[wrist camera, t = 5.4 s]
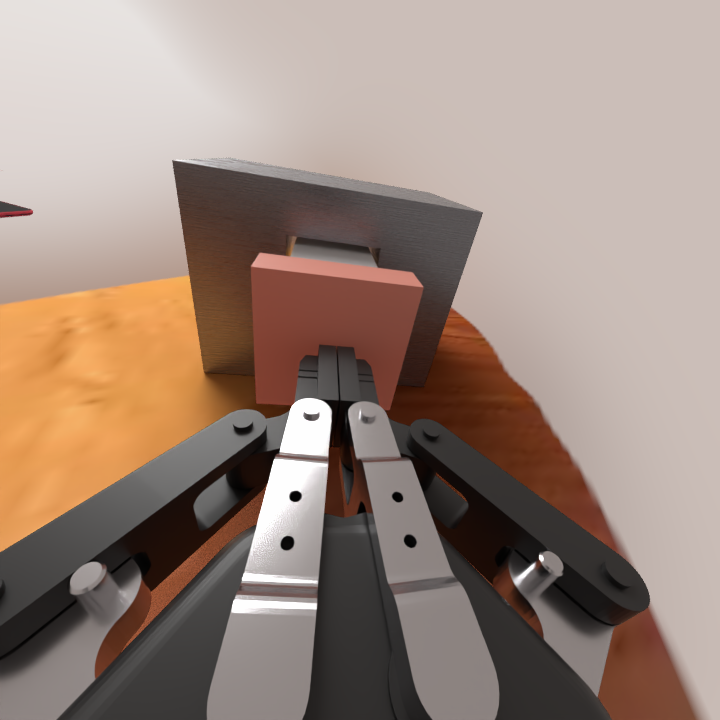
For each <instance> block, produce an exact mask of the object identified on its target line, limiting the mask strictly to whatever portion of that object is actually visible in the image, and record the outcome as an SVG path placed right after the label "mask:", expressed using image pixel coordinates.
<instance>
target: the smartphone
mask: <svg viewBox="0 0 720 720" xmlns="http://www.w3.org/2000/svg"><path fill="white" fill-rule="evenodd" d="M32 214H33V211H32V210H31V209H28V208H24V207H20V206H17V205H13V204H9V203H5V202H1V201H0V218H5V217H18V216H30V215H32Z"/></svg>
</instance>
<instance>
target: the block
mask: <svg viewBox="0 0 720 720" xmlns="http://www.w3.org/2000/svg"><path fill="white" fill-rule="evenodd" d="M173 168H174V175H175V181H176V188H177V195H178V202H179V208H180V215H181V222H182V229H183V235H184V242H185V248H186V255H187V262H188V268H189V275H190V282H191V289H192V295H193V302H194V309H195V315H196V322H197V329H198V336H199V342H200V349H201V356H202V362H203V369H204V372H205V373H220V374H236V375H251V376H255V363H254V337H253V311H252V285H251V265H252V264H253V262H254V261H255V259H256V258H257V256H258V255H259V253H266V254H274V255H282V256H291V253H292V250H293V247H294V244H295V241H296V238H297V237H302V238H309V239H316V240H323V241H331V242H338V243H345V244H352V245H359V246H366V247H368V248H369V250H370V252H371V254H372V256H373V259H374V261H375V263H376V265H377V267H378V268H383V269H391V270H398V271H406V272H413V273H414V275H415V276H416V277H417V279H418V280H419V282H420V283H421V284H422V286H423V287H424V289H423V292H422V296H421V300H420V303H419V307H418V310H417V314H416V318H415V321H414V325H413V328H412V332H411V336H410V339H409V343H408V346H407V350H406V354H405V357H404V361H403V364H402V368H401V372H400V375H399V379H398V382H397V385H404V386H419V387H424V385H425V382H426V379H427V376H428V373H429V370H430V367H431V364H432V361H433V358H434V355H435V352H436V349H437V346H438V343H439V340H440V338H441V335H442V332H443V329H444V326H445V323H446V320H447V317H448V314H449V311H450V308H451V305H452V302H453V299H454V296H455V293H456V290H457V287H458V285H459V281H460V279H461V275H462V273H463V270H464V267H465V264H466V261H467V258H468V255H469V252H470V249H471V246H472V243H473V240H474V237H475V234H476V232H477V228H478V226H479V223H480V220H481V217H482V214H483V213H482V212H480V211H477V210H474V209H472V208H469V207H467V206H464V205H461V204H459V203H456V202H453V201H450V200H447V199H445V198H442V197H440V196H437V195H434V194H431V193H428V192H422V191H417V190H411V189H405V188H399V187H394V186H388V185H382V184H377V183H370V182H365V181H359V180H354V179H348V178H342V177H336V176H331V175H325V174H319V173H313V172H307V171H302V170H296V169H290V168H285V167H279V166H273V165H268V164H262V163H256V162H250V161H245V160H239V159H233V158H219V159H217V158H216V159H193V160H192V159H191V160H173Z"/></svg>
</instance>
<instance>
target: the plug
mask: <svg viewBox="0 0 720 720" xmlns="http://www.w3.org/2000/svg"><path fill="white" fill-rule="evenodd" d="M251 285H252V311H253V337H254V363H255V389H256V404H275V405H294V402H295V395H296V387H297V380H298V372H299V364H300V361H301V360H302V359H303V357H304V356H305V355H314V356H318V350H319V344H321V345H332V346H336V348H337V346H344V347H354V350H355V357H356V359H364V360H366V361H367V362H368V364H369V365H370V366H371V368H372V373H373V378H374V383H375V387H376V392H377V397H378V402H379V406H380V407H382V408H383V409H384V410H390V408H391V404H392V400H393V397H394V393H395V390H396V386H397V382H398V379H399V375H400V372H401V368H402V364H403V361H404V357H405V354H406V350H407V346H408V343H409V339H410V336H411V332H412V328H413V325H414V321H415V318H416V314H417V310H418V307H419V303H420V300H421V296H422V292H423V289H424V287H423V286H422V284H421V283H420V282H419V280H418V279H417V277H416V276H415V275H414V273H413V272H406V271H398V270H391V269H383V268H378V267H377V265H376V263H375V261H374V259H373V256H372V254H371V252H370V250H369V248H368V247H366V246H359V245H352V244H345V243H338V242H331V241H323V240H316V239H309V238H302V237H297V238H296V241H295V244H294V247H293V250H292V253H291V256H282V255H274V254H266V253H259V255H258V256H257V258H256V259H255V261H254V262H253V264H252V265H251Z"/></svg>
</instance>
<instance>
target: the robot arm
mask: <svg viewBox="0 0 720 720" xmlns="http://www.w3.org/2000/svg"><path fill="white" fill-rule="evenodd" d="M332 441H333V447H340V460H339V472H340V480H341V488H342V496H343V504H344V514H345V518H342V517H338V516H334V515H330V514H326V513H324V508H325V496H326V484H327V473H328V451H329V447H332ZM436 472H437V473H438V474H439V475H440V476H441V477H442V478H444V479H445V480H446V481H447V482H448V483H450V484H451V485H452V486H453V487H454V488H456V489H457V490H458V491H459V492H460V493H461V494H462V495H463V496H464V497H465V498H466V500H467V502H466V501H465V500H464V499H463V498H461V497H460V496H459V495H458V494H457V493H456V492H454V491H453V490H452V489H451V488H450V487H449V486H447V485H446V484H445V483H444V482H443V481H441V480H440V479H439V478H438V477H437V476H436ZM267 483H268V485H267V489H266V493H265V497H264V500H263V504H262V508H261V512H260V515H259V519H258V523H257V525H254V526H252V527H250V528H248V529H247V530H245V531H243V532H242V533H240V534H239V535H237V536H236V537H235V538H233V539H232V540H231V541H230V542H229V543H227V544H226V545H225V546H224V547H223V548H222V549H221V550H220V551H219V552H218V553H217V554H216V555H215V557H214V558H213V559H212V560H211V561H210V562H209V563H208V564H207V565H206V566H205V567H204V568H203V569H202V570H201V571H200V572H199V573H198V574H197V575H196V576H195V577H194V578H193V579H192V580H191V581H190V582H189V583H188V584H187V585H186V586H185V587H184V588H183V590H182V591H181V592H180V593H179V594H178V595H177V596H176V597H175V598H174V599H173V600H172V601H171V602H170V603H169V604H168V605H167V606H166V607H165V608H164V609H163V610H162V611H161V612H160V613H159V614H158V615H157V616H156V617H155V618H154V619H153V620H152V621H151V623H150V624H149V625H148V626H147V627H146V628H145V629H144V630H143V631H142V632H141V633H140V634H139V635H138V636H137V637H136V638H135V639H134V640H133V641H132V642H131V643H130V644H129V645H128V646H127V647H126V648H125V649H124V650H123V648H124V647H125V645H126V644H127V642H128V641H129V640H130V639H131V637H132V636H133V635H134V634H135V633H136V632H137V630H138V629H139V628H140V627H141V625H142V624H143V622H144V620H145V619H146V617H147V614H148V612H149V609H150V605H151V598H152V597H151V591H152V590H154V589H155V588H156V587H157V586H158V585H159V584H160V583H161V582H162V581H163V580H164V579H166V578H167V577H168V576H169V575H170V574H171V573H172V572H173V571H174V570H175V569H177V568H178V567H179V566H180V565H181V564H182V563H183V562H184V561H185V560H186V559H187V558H189V557H190V556H191V555H192V554H193V553H194V552H195V551H196V550H197V549H198V548H200V547H201V546H202V545H203V544H204V543H205V542H206V541H207V540H208V539H209V538H211V537H212V536H213V535H214V534H215V533H216V532H217V531H218V530H219V529H220V528H221V527H223V526H224V525H225V524H226V523H227V522H228V521H229V520H230V519H231V518H232V517H234V516H235V515H236V514H237V513H238V512H239V511H240V510H241V509H242V508H243V507H244V506H246V505H247V504H248V503H249V502H250V501H251V500H252V499H253V498H254V497H255V496H257V495H258V494H259V493H260V492H261V491H262V490H263V489H264V487H265V486H266V484H267ZM437 531H438V532H439V533H440V534H441V535H440V534H439V533H438V532H437ZM458 551H459V552H460V553H461V554H462V555H463V556H464V557H465V558H466V559H467V560H468V561H469V562H470V563H471V564H472V565H473V566H474V567H475V568H476V569H477V570H478V571H479V572H480V573H481V574H482V575H483V576H484V577H485V578H486V579H487V580H488V581H489V582H490V583H491V584H492V585H493V587H492V586H491V585H490V584H489V583H488V582H487V581H486V579H485V578H484V577H483V576H482V575H481V574H480V573H479V572H478V571H477V570H476V569H475V568H474V567H473V566H472V565H471V564H470V563H469V562H468V561H467V560H466V559H465V558H464V557H463V556H462V555H461V554H460V553H459V552H458ZM649 603H650V596H649V592H648V589H647V587H646V585H645V583H644V581H643V579H642V578H641V576H640V575H639V574H638V572H637V571H636V570H635V569H634V568H633V567H632V566H631V564H629V563H628V562H627V561H626V560H625V559H624V558H623V557H621V556H620V555H619V554H617V553H616V552H615V551H613V550H612V549H610V548H609V547H608V546H606V545H605V544H604V543H602V542H601V541H600V540H598V539H597V538H595V537H594V536H593V535H591V534H590V533H589V532H587V531H586V530H584V529H583V528H582V527H580V526H579V525H578V524H576V523H575V522H574V521H572V520H571V519H569V518H568V517H567V516H565V515H564V514H563V513H561V512H560V511H558V510H557V509H556V508H554V507H553V506H552V505H550V504H549V503H548V502H546V501H545V500H543V499H542V498H541V497H539V496H538V495H537V494H535V493H534V492H533V491H531V490H530V489H528V488H527V487H526V486H524V485H523V484H522V483H520V482H519V481H517V480H516V479H515V478H513V477H512V476H511V475H509V474H508V473H507V472H505V471H504V470H502V469H501V468H500V467H498V466H497V465H496V464H494V463H493V462H491V461H490V460H489V459H487V458H486V457H485V456H483V455H482V454H481V453H479V452H478V451H476V450H475V449H474V448H472V447H471V446H470V445H468V444H467V443H466V442H464V441H463V440H461V439H460V438H459V437H457V436H456V435H455V434H453V433H452V432H450V431H449V430H448V429H446V428H445V427H444V426H442V425H441V424H439V423H438V422H436V421H433V420H429V419H418V420H416V421H414V422H413V423H412V424H411V426H407V425H404V424H401V423H398V422H395V421H393V420H391V419H389V418H388V417H387V414H386V412H385V411H384V409H383V408H382V407H380V406H379V402H378V397H377V392H376V387H375V383H374V378H373V373H372V368H371V366H370V365H369V364H368V362H367V361H366V360H364V359H356V357H355V350H354V347H344V346H337V348H336V346H332V345H321V344H319V350H318V356H314V355H305V356H304V357H303V359H302V360H301V361H300V364H299V372H298V380H297V387H296V395H295V402H294V405H293V406H292V407H291V409H290V410H289V411H288V412H287V413H285V414H283V415H280V416H277V417H273V418H267V419H266V418H265V417H264V415H262V414H261V413H260V412H258V411H255V410H250V409H242V410H237V411H234V412H231V413H229V414H228V415H226V416H224V417H223V418H221V419H219V420H218V421H216V422H214V423H213V424H211V425H209V426H208V427H206V428H204V429H203V430H201V431H200V432H198V433H196V434H195V435H193V436H191V437H190V438H188V439H186V440H185V441H183V442H181V443H180V444H178V445H176V446H175V447H173V448H172V449H170V450H168V451H167V452H165V453H163V454H162V455H160V456H158V457H157V458H155V459H153V460H152V461H150V462H148V463H147V464H145V465H144V466H142V467H140V468H139V469H137V470H135V471H134V472H132V473H130V474H129V475H127V476H125V477H124V478H122V479H120V480H119V481H117V482H116V483H114V484H112V485H111V486H109V487H107V488H106V489H104V490H102V491H101V492H99V493H97V494H96V495H94V496H92V497H91V498H89V499H88V500H86V501H84V502H83V503H81V504H79V505H78V506H76V507H74V508H73V509H71V510H69V511H68V512H66V513H64V514H63V515H61V516H60V517H58V518H56V519H55V520H53V521H51V522H50V523H48V524H46V525H45V526H43V527H41V528H40V529H38V530H36V531H35V532H33V533H32V534H30V535H28V536H27V537H25V538H23V539H22V540H20V541H18V542H17V543H15V544H13V545H12V546H10V547H8V548H7V549H5V550H4V551H2V552H0V720H612V719H611V717H610V716H609V714H608V712H607V711H606V709H605V708H604V706H603V705H602V703H601V702H600V700H599V699H598V698H597V697H598V693H599V688H600V684H601V680H602V675H603V671H604V667H605V663H606V658H607V654H608V650H609V645H610V641H611V637H612V632H613V629H614V628H615V627H617V626H618V625H620V624H621V623H623V622H625V621H627V620H628V619H630V618H632V617H633V616H635V615H637V614H639V613H640V612H642V611H644V610H645V609H646V608H647V607H648V606H649ZM122 650H123V651H122ZM121 651H122V652H121Z"/></svg>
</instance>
